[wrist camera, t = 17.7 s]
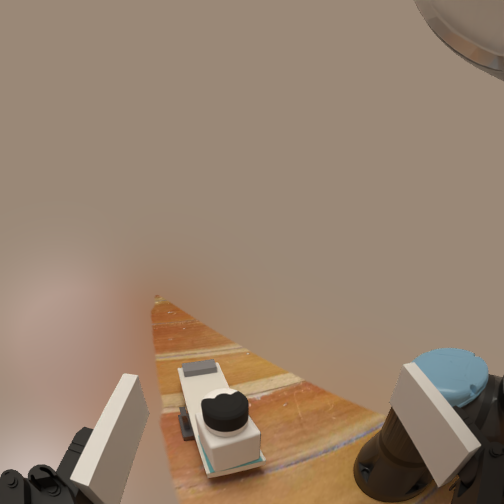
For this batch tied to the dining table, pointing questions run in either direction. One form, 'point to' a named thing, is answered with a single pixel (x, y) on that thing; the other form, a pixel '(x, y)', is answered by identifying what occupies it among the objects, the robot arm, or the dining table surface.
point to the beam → (194, 389)
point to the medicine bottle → (227, 429)
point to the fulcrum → (186, 425)
